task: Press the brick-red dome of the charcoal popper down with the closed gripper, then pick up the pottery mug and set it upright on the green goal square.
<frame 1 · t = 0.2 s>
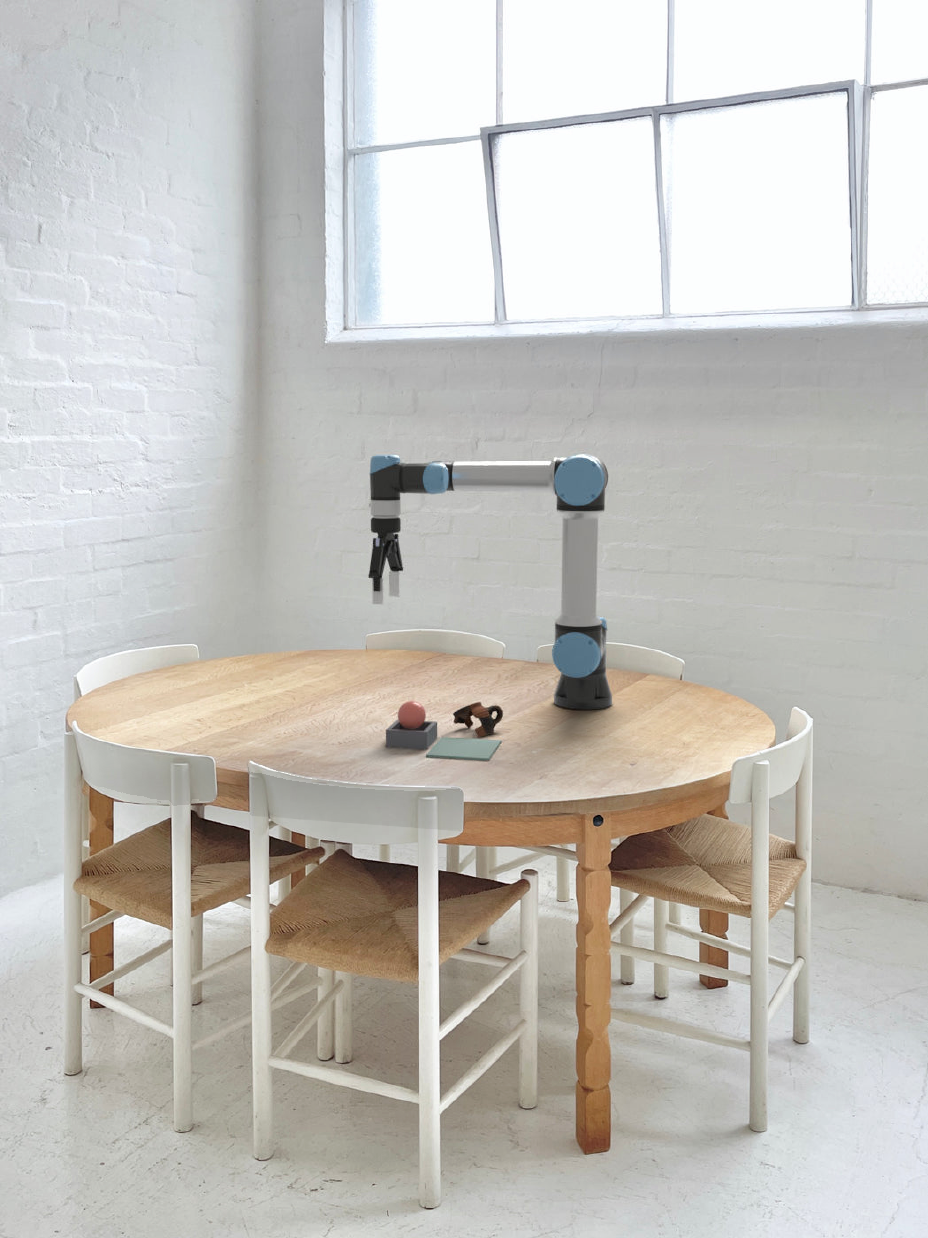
hand: (386, 600, 293), 28 cm above the table, tool pointing down, fingers open, 13 cm apart
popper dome: (411, 715, 262), point 6 cm above the table, slide at 0.0 cm
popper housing: (412, 742, 264), on the table
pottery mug: (478, 732, 273), on the table
goal square: (464, 749, 258), on the table
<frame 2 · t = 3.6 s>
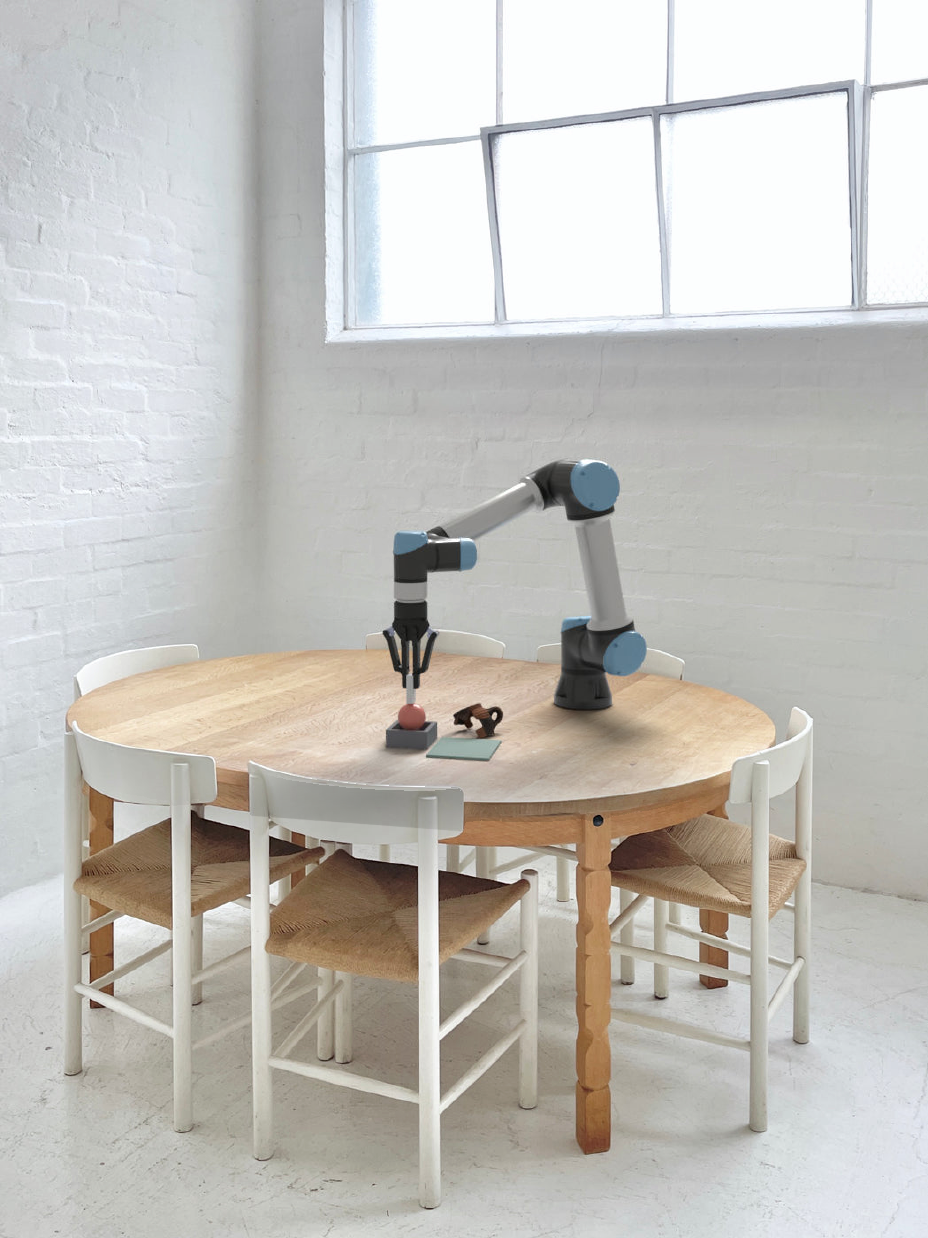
hand: (411, 702, 262), 10 cm above the table, tool pointing down, fingers closed
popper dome: (411, 717, 263), point 6 cm above the table, slide at 0.5 cm, touching gripper
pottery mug: (479, 734, 272), on the table
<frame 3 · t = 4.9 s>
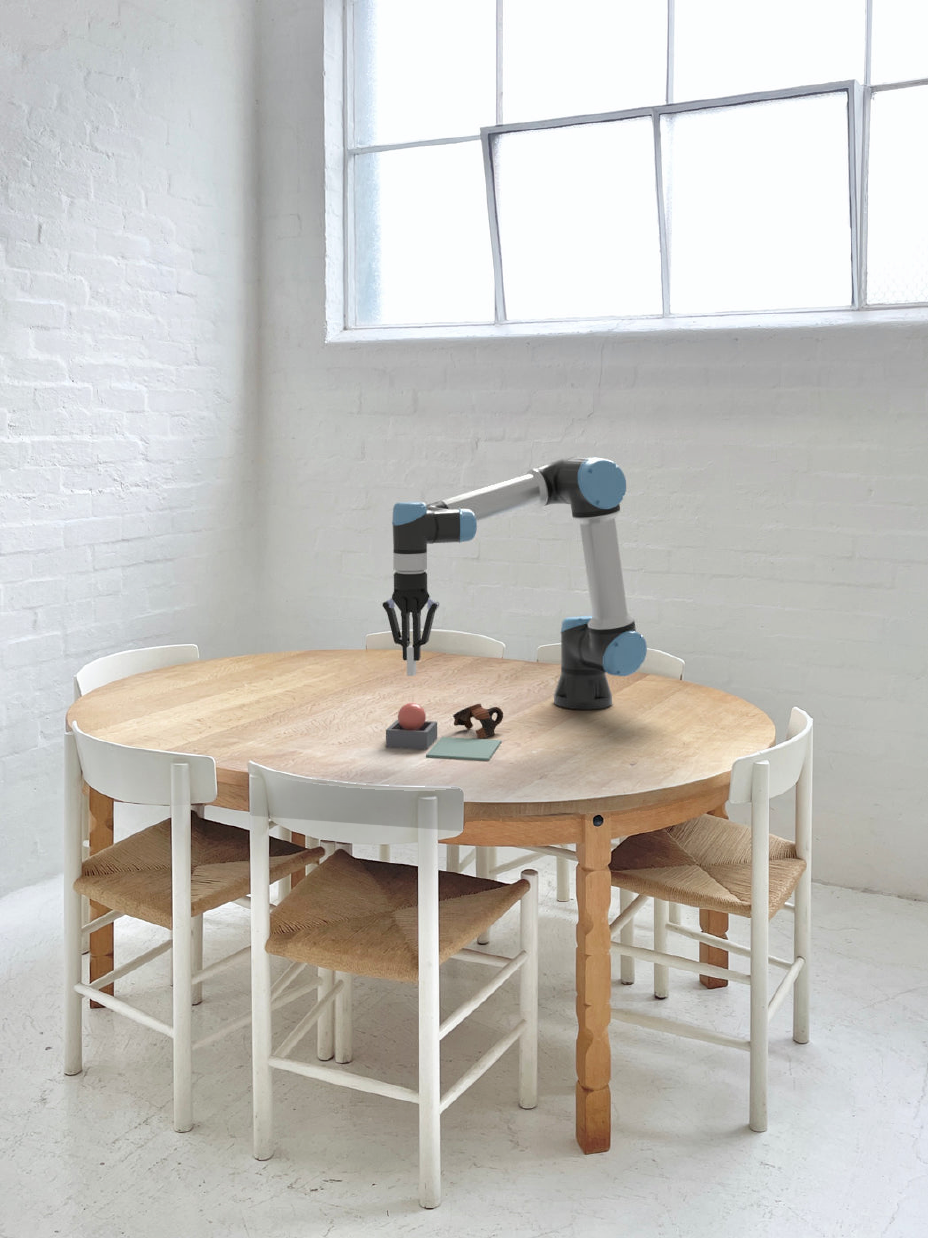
hand: (411, 674, 261), 16 cm above the table, tool pointing down, fingers closed
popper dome: (411, 716, 263), point 6 cm above the table, slide at 0.4 cm
everything else where it was.
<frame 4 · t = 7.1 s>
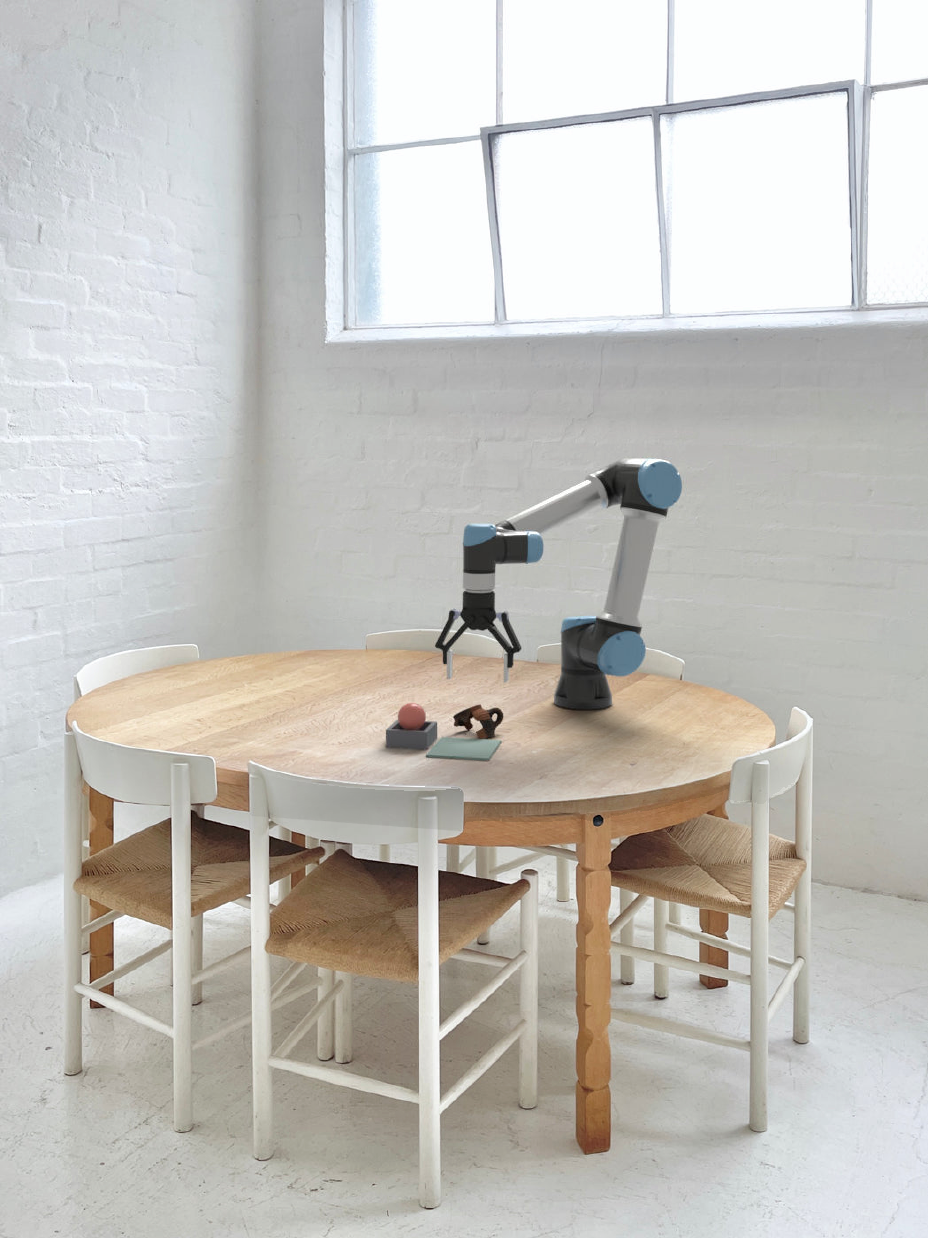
hand: (477, 679, 271), 13 cm above the table, tool pointing down, fingers open, 13 cm apart
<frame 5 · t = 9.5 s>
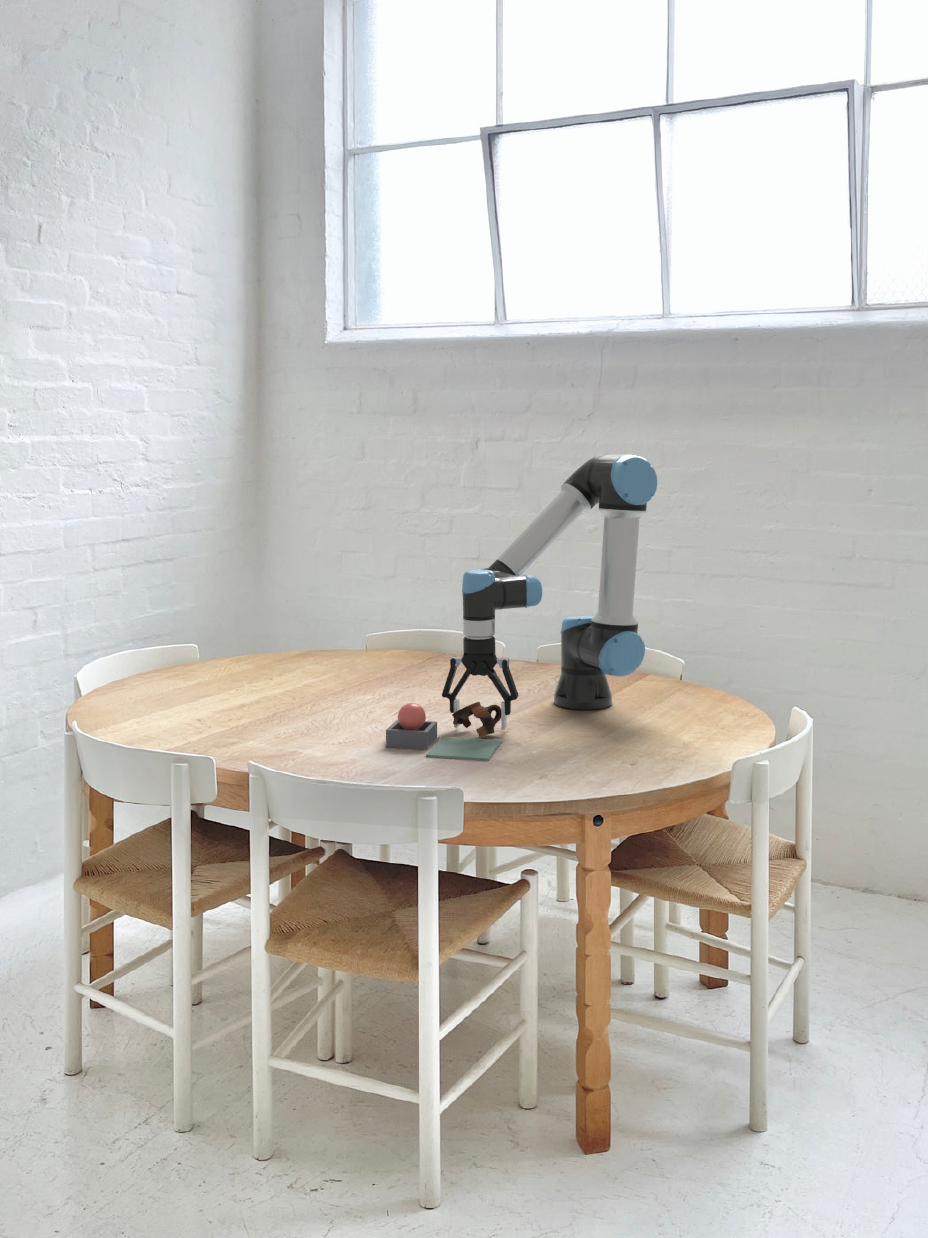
hand: (480, 727, 273), 1 cm above the table, tool pointing down, fingers closed on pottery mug, 11 cm apart
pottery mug: (478, 733, 270), on the table, touching gripper
everything else where it was.
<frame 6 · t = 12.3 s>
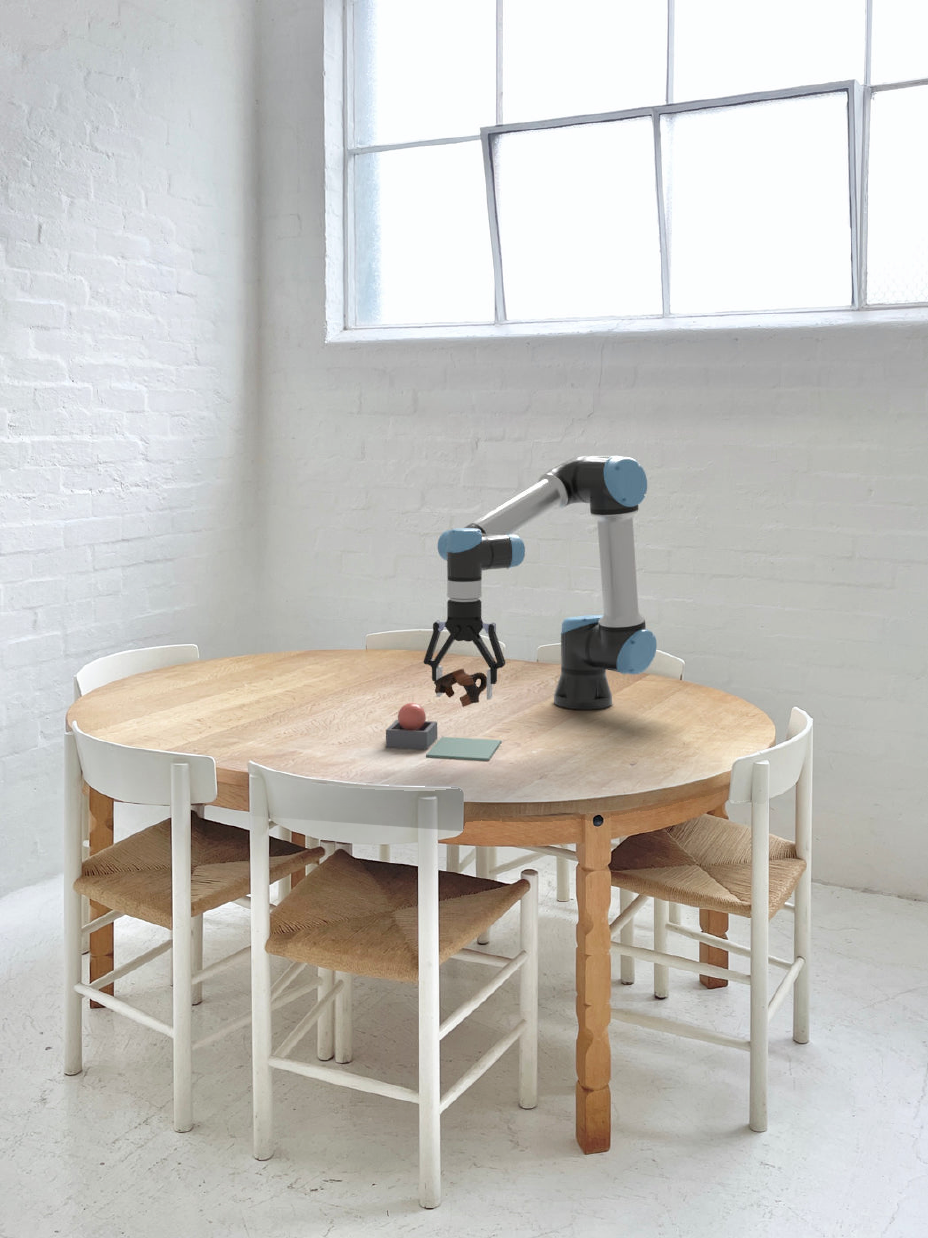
hand: (464, 696, 256), 12 cm above the table, tool pointing down, fingers closed on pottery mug, 11 cm apart
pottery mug: (462, 702, 253), point 12 cm above the table, touching gripper
everything else where it was.
when the fingers open (1 cm above the table, at t = 15.1 s): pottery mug stays where it is, resting on goal square.
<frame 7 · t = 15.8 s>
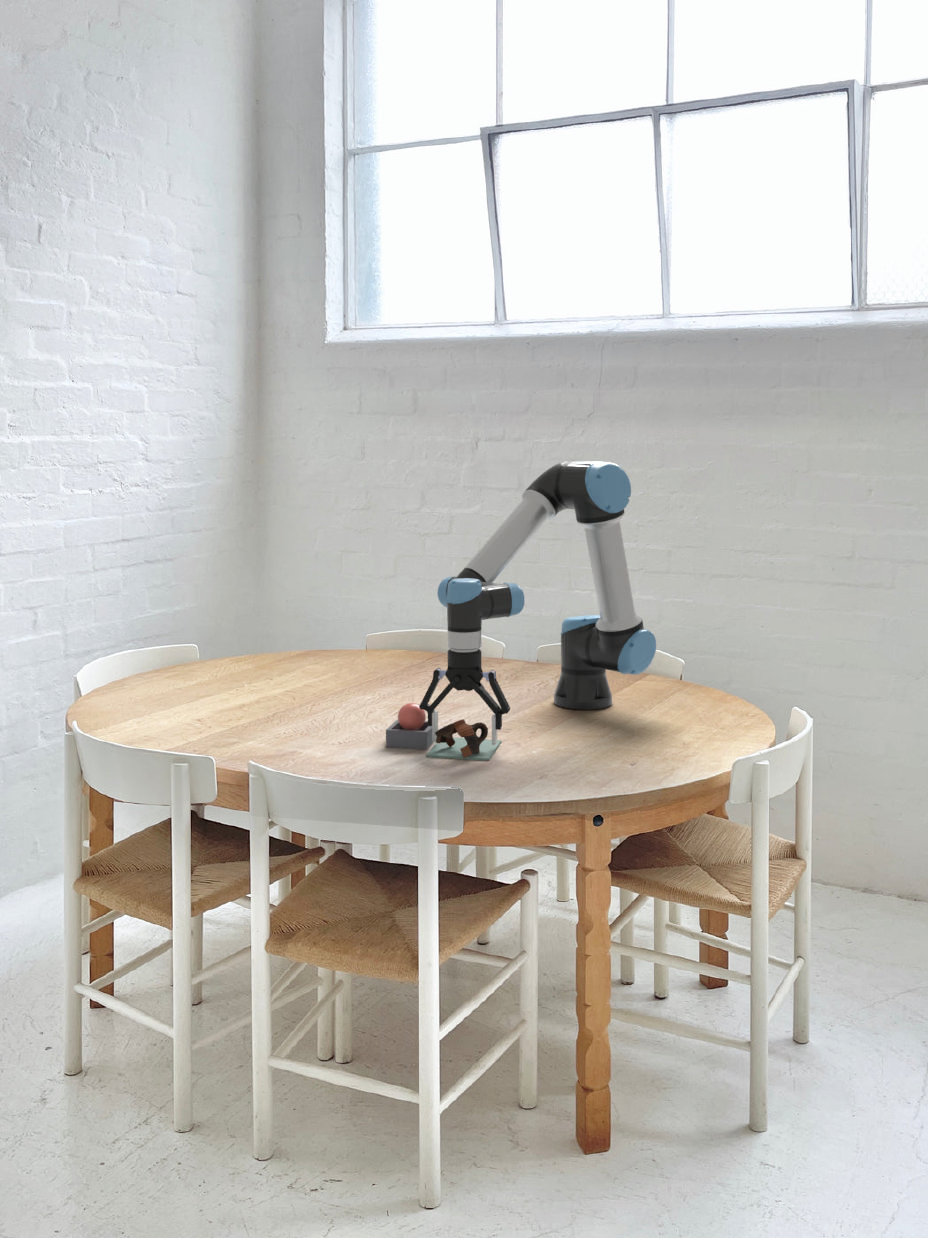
hand: (464, 741, 258), 2 cm above the table, tool pointing down, fingers open, 13 cm apart
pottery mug: (462, 752, 255), resting on goal square
everything else where it was.
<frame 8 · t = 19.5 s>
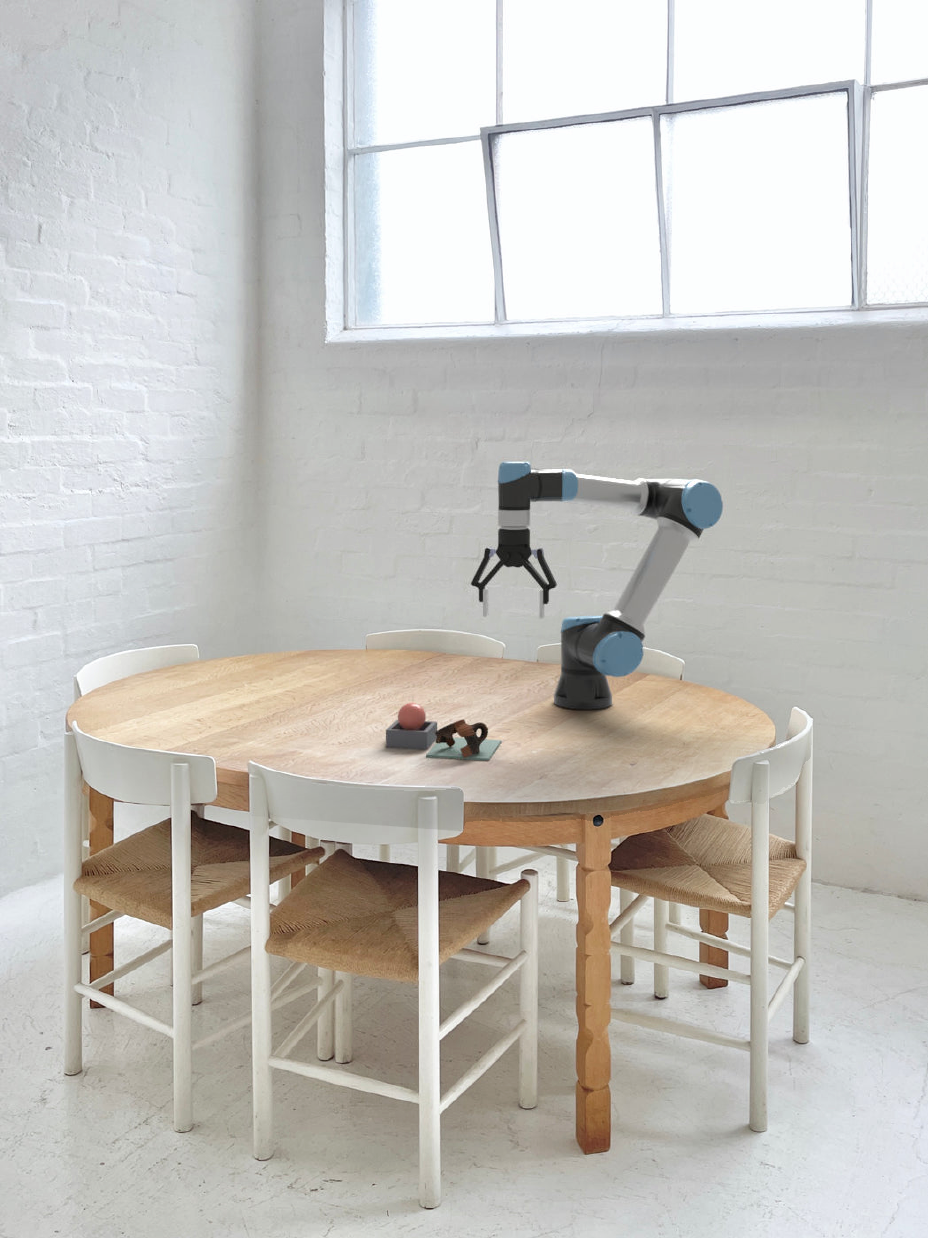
hand: (513, 616, 274), 27 cm above the table, tool pointing down, fingers open, 13 cm apart
nothing on the table moved.
at the end: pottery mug 3.3 cm off-centre on the goal square, point 0.3 cm above the goal square's base; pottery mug tilted 0°; the gripper is holding nothing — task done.
